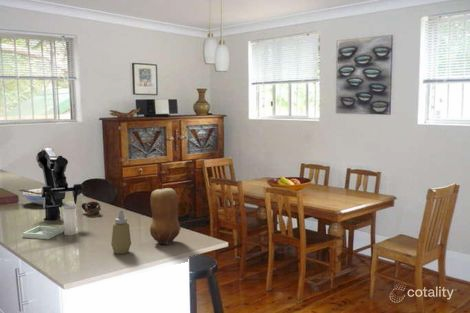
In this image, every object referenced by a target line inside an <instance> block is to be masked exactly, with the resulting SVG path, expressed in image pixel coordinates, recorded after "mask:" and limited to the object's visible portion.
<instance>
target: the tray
mask: <svg viewBox="0 0 470 313" xmlns="http://www.w3.org/2000/svg"><path fill="white" fill-rule="evenodd" d="M44 230H48V231H49V232H50V233H49V234H42V233H43V231H44ZM62 233H64V226H63V227H62V226H61V227H60V226H46V225H38V226H35V227H33V228H31V229H28V230H27V231H24V232H22V238H28V239H38V240H39V239H41V240H50V239H51V238H52V239H53V237H56V236H58V235H60V234H62Z"/></svg>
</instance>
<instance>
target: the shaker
mask: <svg viewBox="0 0 470 313" xmlns="http://www.w3.org/2000/svg"><path fill="white" fill-rule="evenodd" d="M62 207H63V233H64V236H73V235H74V236H75V235H76V234H77V216H76V215H77V213H76V211H77V209H76V208H77V205H76V204H75V203H66V204H62Z"/></svg>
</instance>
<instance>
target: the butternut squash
mask: <svg viewBox="0 0 470 313" xmlns="http://www.w3.org/2000/svg"><path fill="white" fill-rule="evenodd" d="M178 203H179V202H178V194H177V191H176V190H175V189H174V188H170V187H169V188H166V187H165V188H159V189H158V188H157V189H155V190H153V191H152V192H151V194H150V210H151V214H152V217H151V223H150V228H149V232H150V233H149V234H150V236H151V237H152V238H153V239H154V241H155V242H157V243H159V244H161V243H163V244H164V243H165V245H167V244H166V243H170V244H171V243H172V242H173V241H174V240H175V239H176V238H177V237H178V235H179V234H180V231H181V229H182V227H181V224H180V221H179V218H178V217H179V214H178V212H179V204H178Z"/></svg>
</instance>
